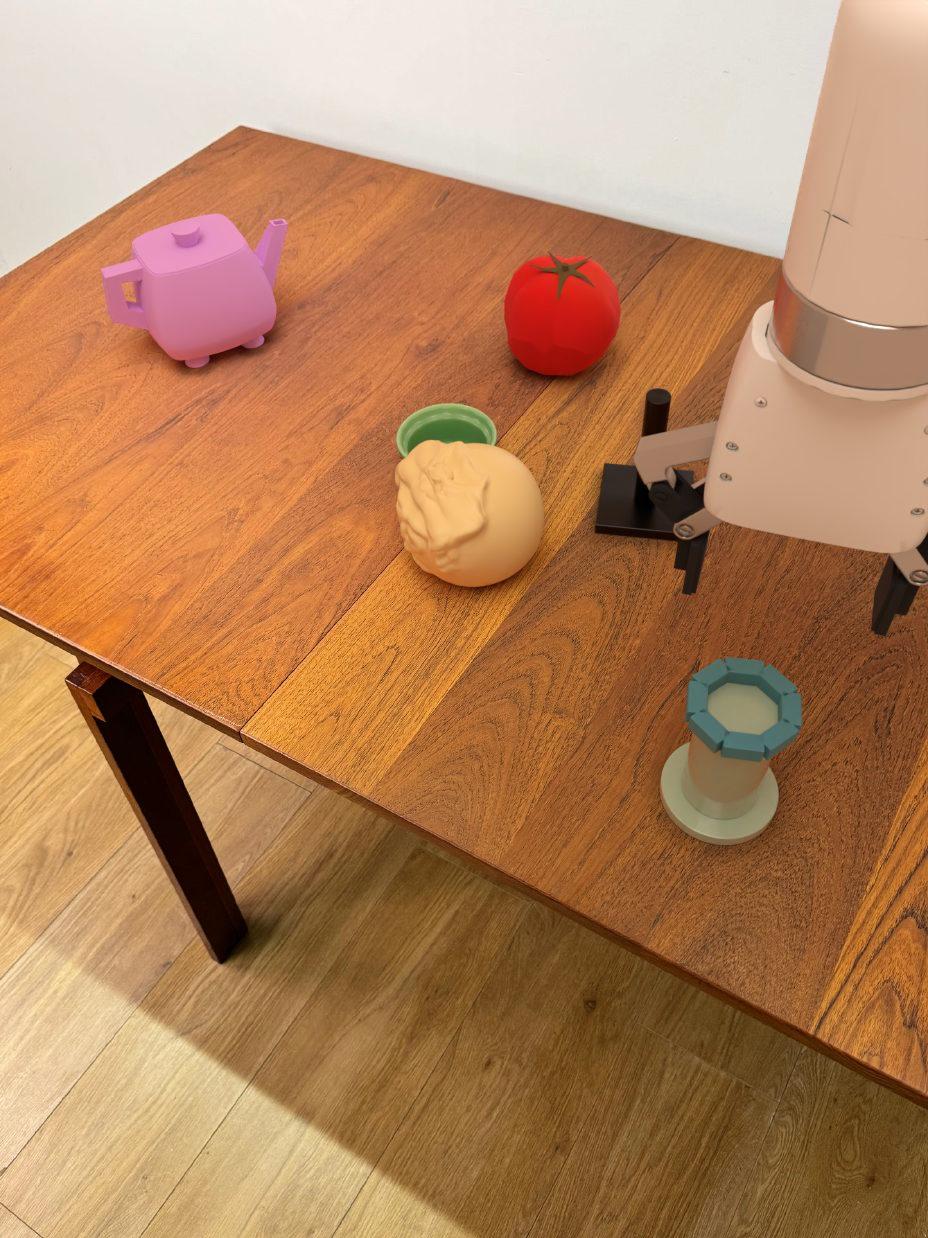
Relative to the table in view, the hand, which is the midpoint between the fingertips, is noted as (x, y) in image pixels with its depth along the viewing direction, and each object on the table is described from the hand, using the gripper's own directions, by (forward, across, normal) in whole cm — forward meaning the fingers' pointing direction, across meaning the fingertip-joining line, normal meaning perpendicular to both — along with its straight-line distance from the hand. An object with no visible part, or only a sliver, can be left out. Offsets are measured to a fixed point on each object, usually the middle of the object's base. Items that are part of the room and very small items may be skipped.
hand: (784, 594), depth 53 cm
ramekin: (+22, +29, -26) cm, 45 cm away
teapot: (+22, +60, -40) cm, 76 cm away
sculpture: (+22, +24, -17) cm, 37 cm away
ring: (+12, 0, 0) cm, 12 cm away
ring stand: (+22, 0, 0) cm, 22 cm away
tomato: (+22, +24, -46) cm, 56 cm away
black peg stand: (+22, +11, -27) cm, 36 cm away
